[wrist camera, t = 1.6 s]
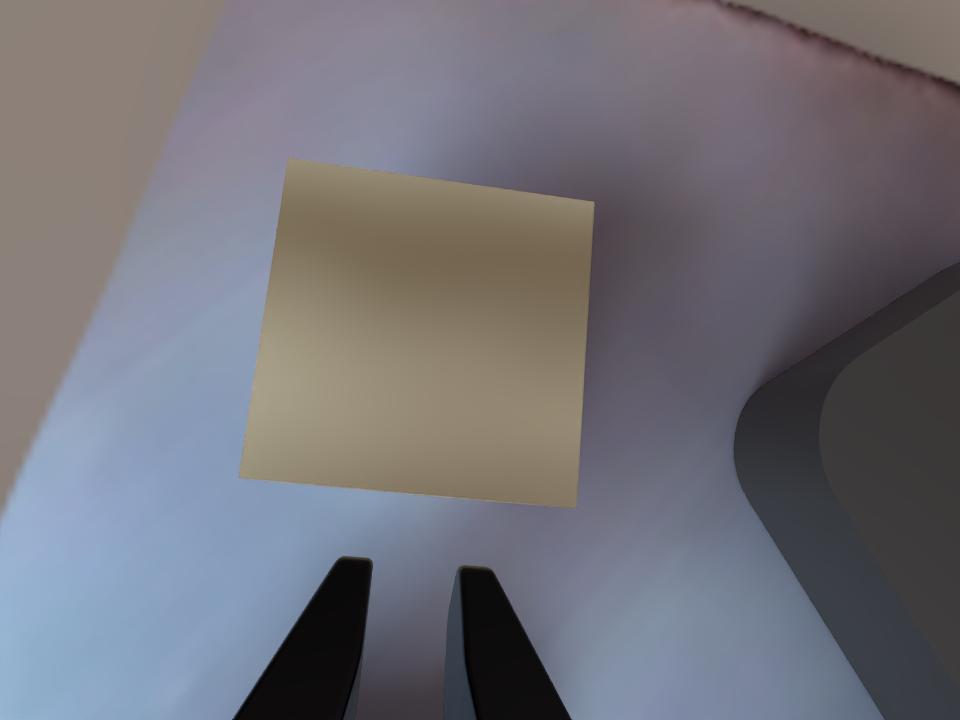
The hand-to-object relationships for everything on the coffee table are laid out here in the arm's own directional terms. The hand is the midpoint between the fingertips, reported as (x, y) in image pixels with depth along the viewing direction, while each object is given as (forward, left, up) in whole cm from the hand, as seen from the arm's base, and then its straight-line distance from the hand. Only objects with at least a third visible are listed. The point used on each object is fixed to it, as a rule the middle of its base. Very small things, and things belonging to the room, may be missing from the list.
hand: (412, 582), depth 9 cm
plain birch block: (+4, 0, -14) cm, 14 cm away
